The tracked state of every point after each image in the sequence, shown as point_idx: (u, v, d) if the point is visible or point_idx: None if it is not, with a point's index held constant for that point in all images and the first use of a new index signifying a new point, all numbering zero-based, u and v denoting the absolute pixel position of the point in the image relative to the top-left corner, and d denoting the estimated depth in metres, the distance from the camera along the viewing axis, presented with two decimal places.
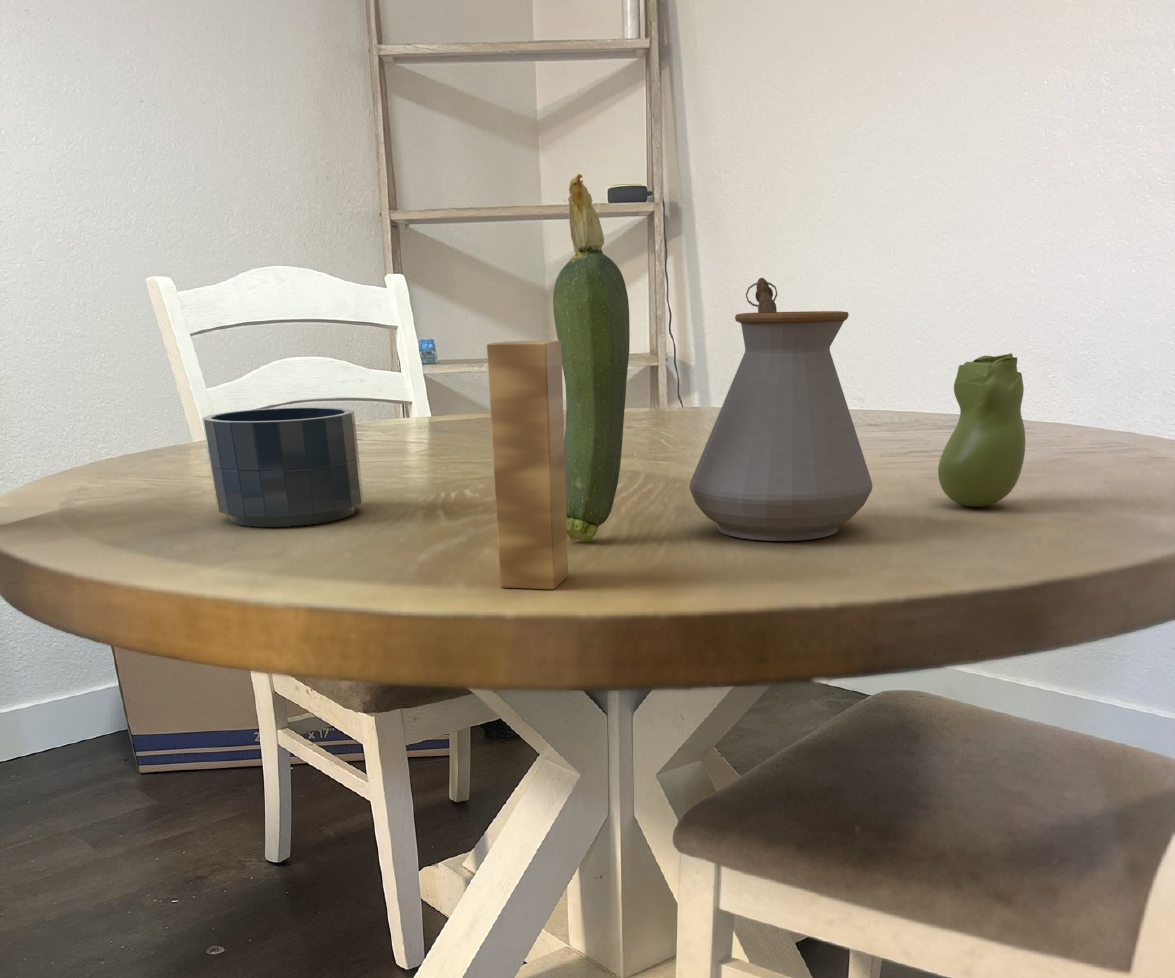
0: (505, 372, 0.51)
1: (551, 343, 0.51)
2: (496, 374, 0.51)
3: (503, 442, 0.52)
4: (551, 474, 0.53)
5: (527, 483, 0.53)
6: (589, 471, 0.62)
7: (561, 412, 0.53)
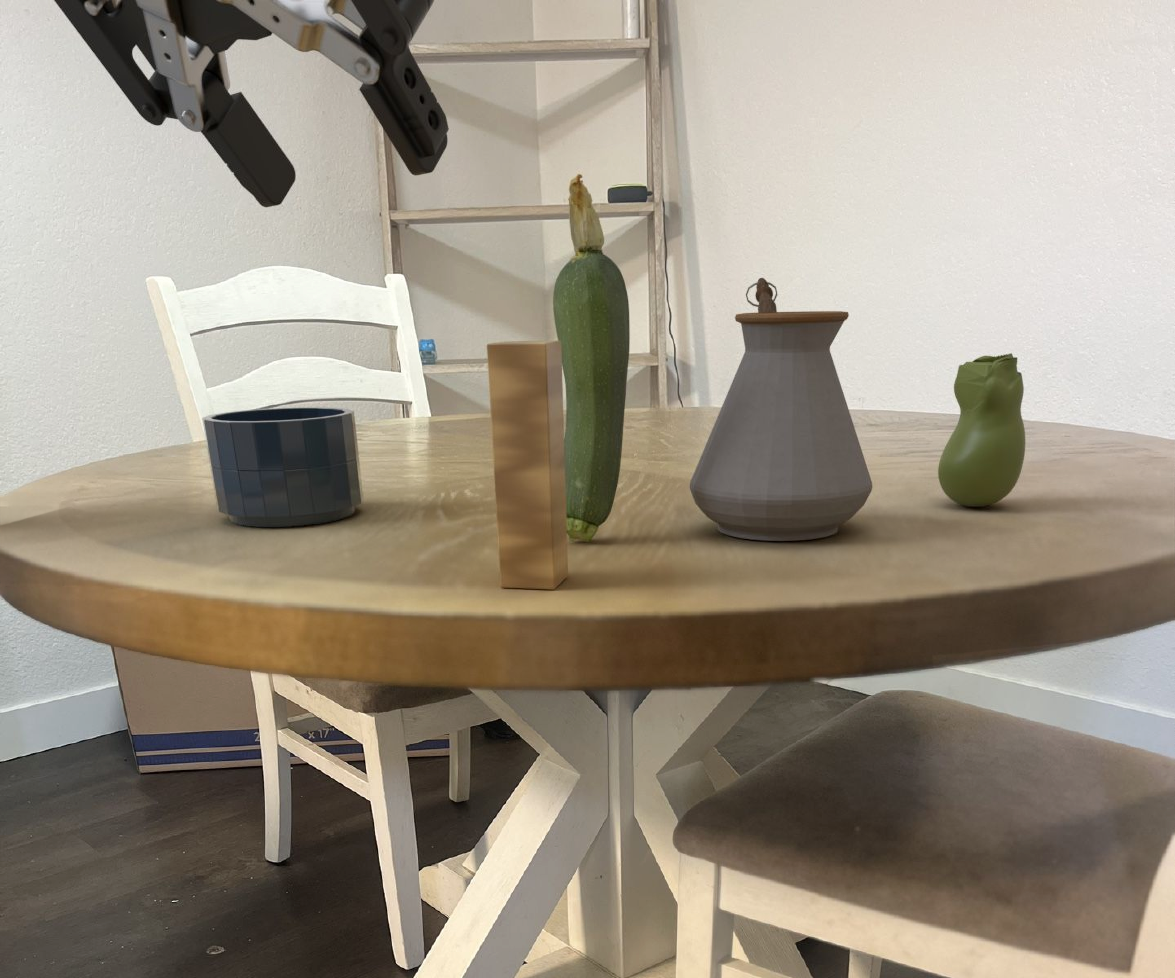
0: (505, 372, 0.51)
1: (551, 343, 0.51)
2: (496, 374, 0.51)
3: (503, 442, 0.52)
4: (551, 474, 0.53)
5: (527, 483, 0.53)
6: (589, 471, 0.62)
7: (561, 412, 0.53)
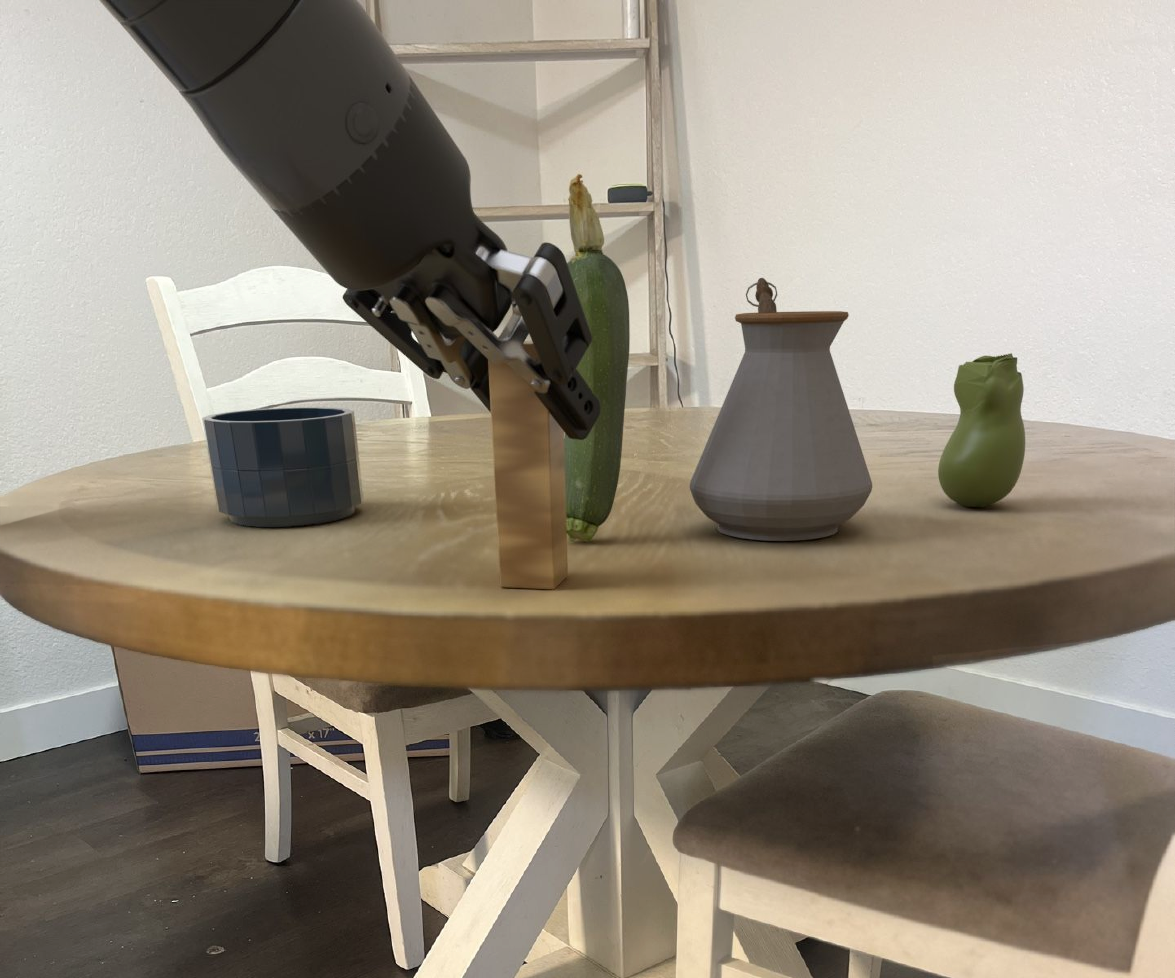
0: (505, 371, 0.51)
1: None
2: (496, 374, 0.51)
3: (503, 442, 0.52)
4: (551, 474, 0.53)
5: (527, 482, 0.53)
6: (589, 471, 0.62)
7: None
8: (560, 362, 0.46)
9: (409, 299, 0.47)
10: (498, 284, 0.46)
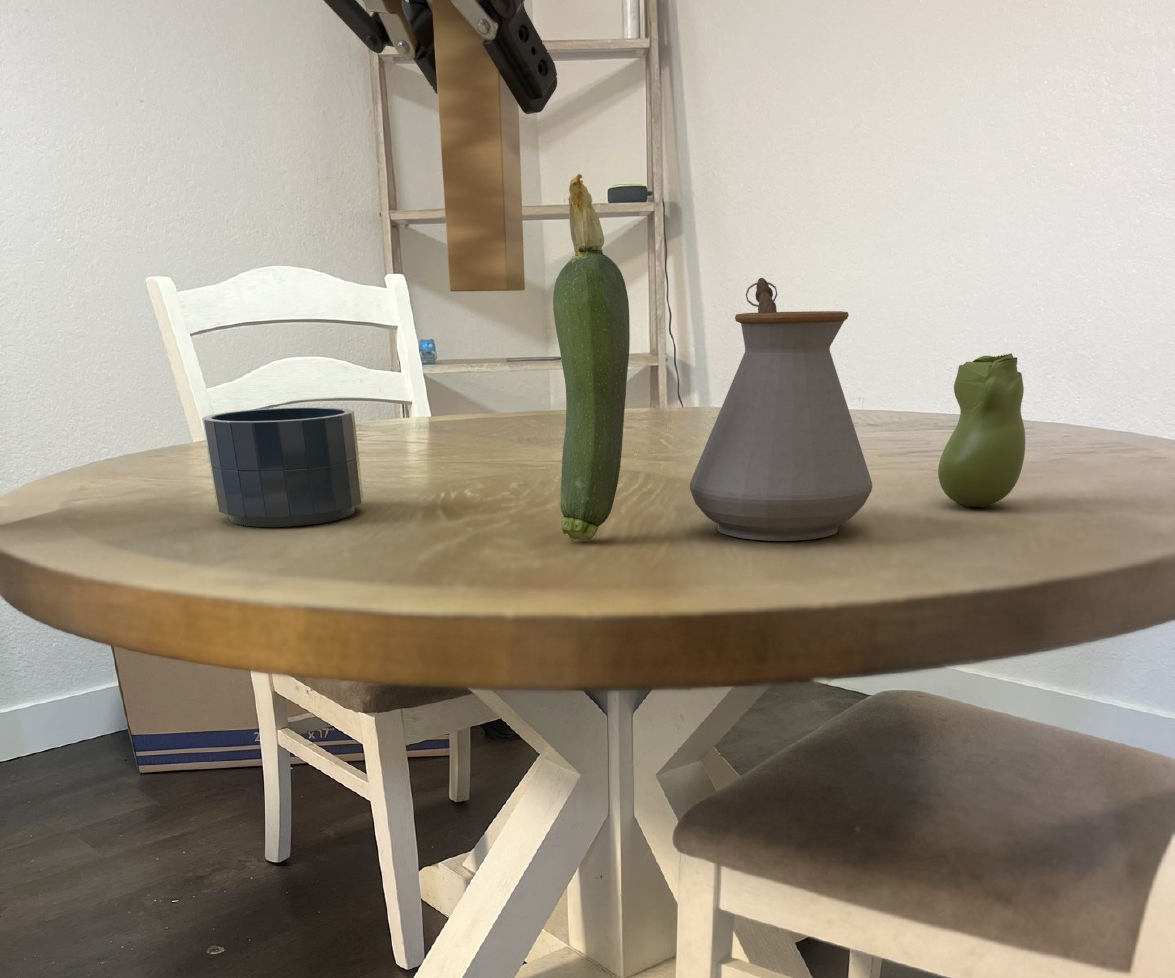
0: (452, 25, 0.46)
1: None
2: (442, 28, 0.47)
3: (450, 112, 0.48)
4: (503, 150, 0.48)
5: (477, 160, 0.48)
6: (589, 472, 0.62)
7: None
8: None
9: None
10: None
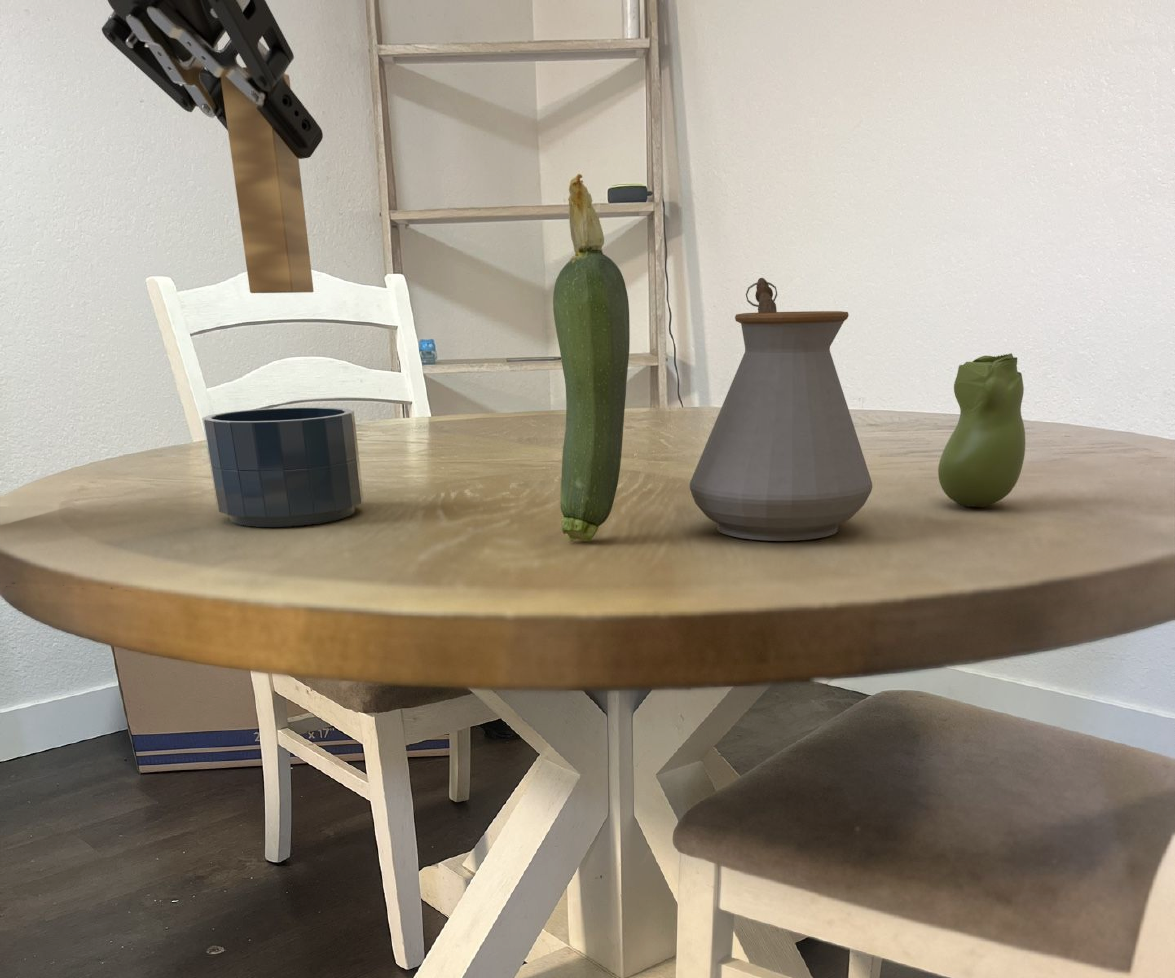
0: (236, 93, 0.62)
1: None
2: (229, 96, 0.62)
3: (240, 158, 0.63)
4: (281, 186, 0.64)
5: (262, 194, 0.64)
6: (589, 471, 0.62)
7: None
8: (259, 64, 0.57)
9: (140, 16, 0.58)
10: None
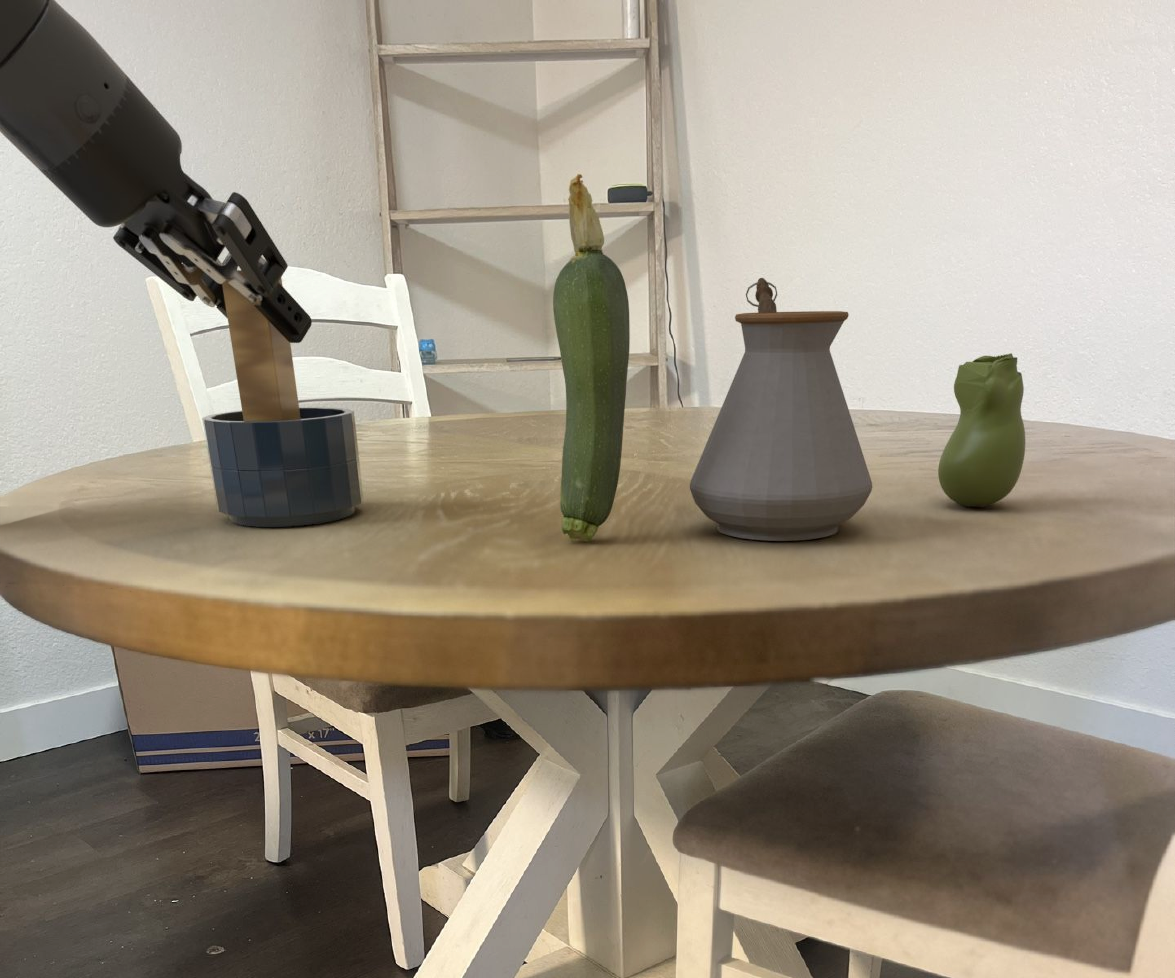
0: (235, 291, 0.70)
1: None
2: (229, 293, 0.70)
3: (239, 344, 0.72)
4: (276, 368, 0.72)
5: (259, 374, 0.72)
6: (589, 472, 0.62)
7: None
8: (259, 278, 0.66)
9: (151, 236, 0.66)
10: (211, 224, 0.65)
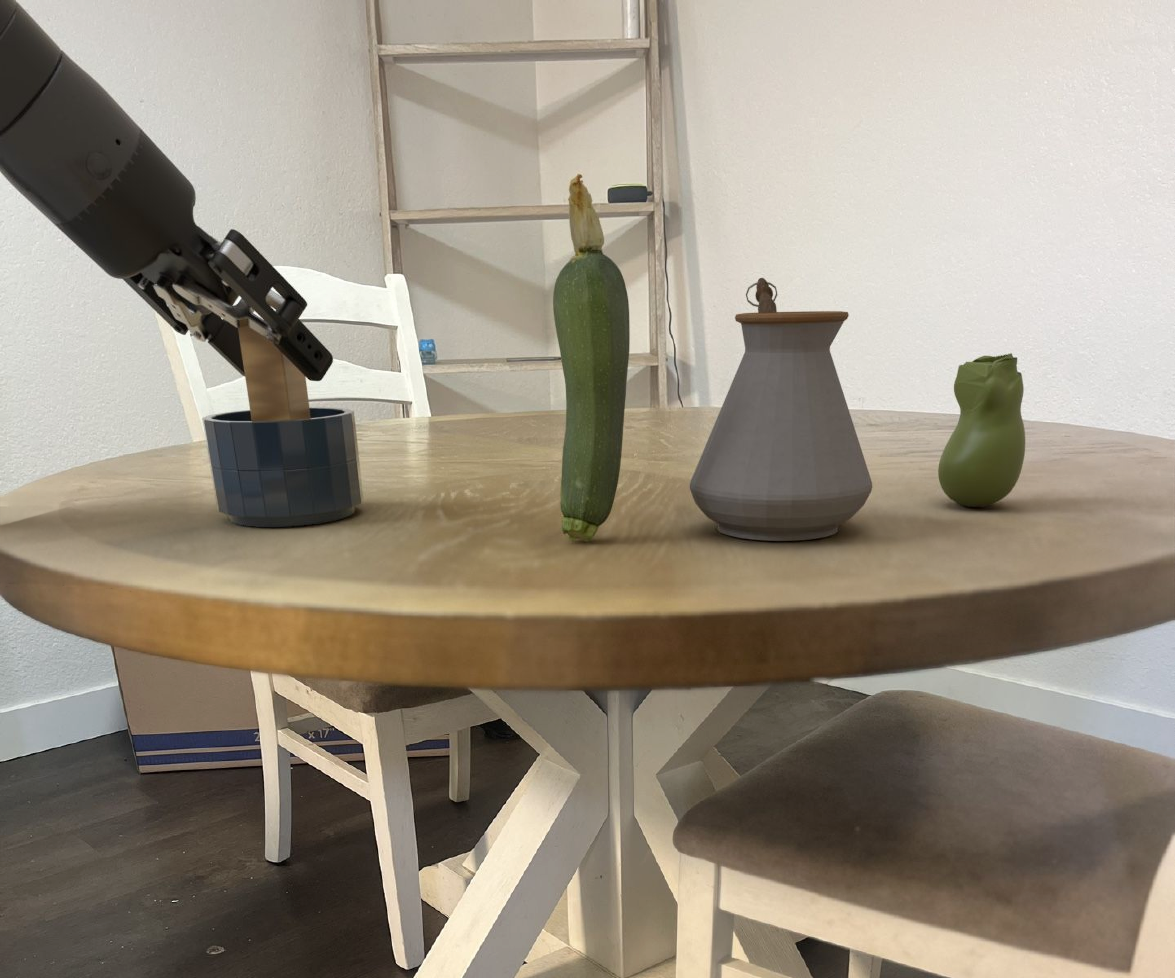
0: (252, 345, 0.70)
1: None
2: (246, 347, 0.70)
3: (255, 397, 0.71)
4: None
5: None
6: (589, 471, 0.62)
7: (302, 376, 0.72)
8: (269, 315, 0.63)
9: (166, 285, 0.66)
10: None
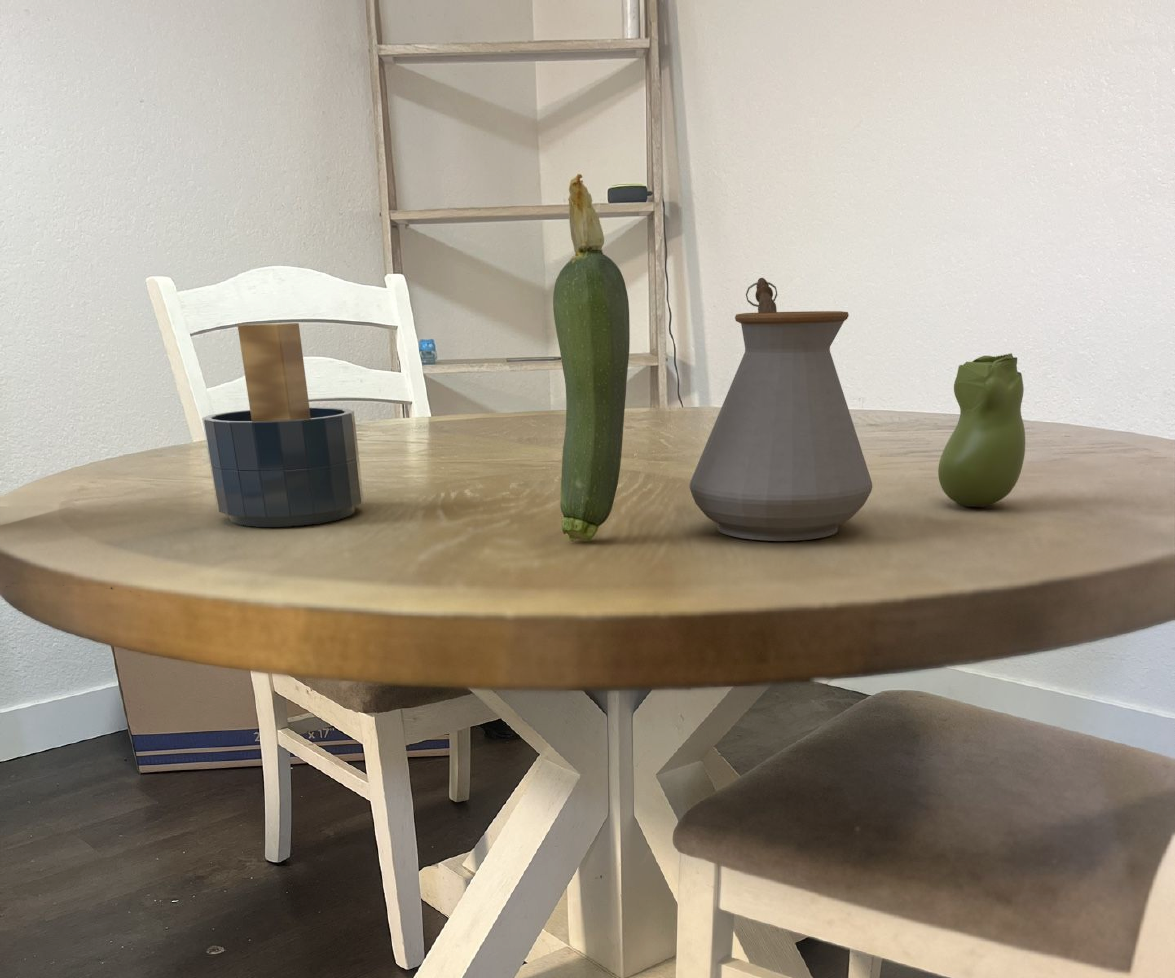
0: (252, 345, 0.70)
1: (285, 324, 0.70)
2: (246, 347, 0.70)
3: (255, 397, 0.71)
4: None
5: None
6: (589, 471, 0.62)
7: (302, 376, 0.72)
8: None
9: None
10: None
